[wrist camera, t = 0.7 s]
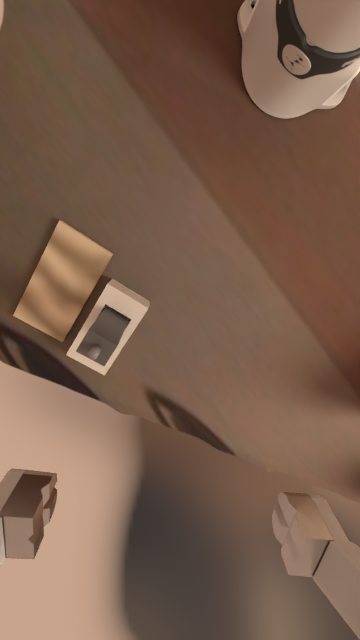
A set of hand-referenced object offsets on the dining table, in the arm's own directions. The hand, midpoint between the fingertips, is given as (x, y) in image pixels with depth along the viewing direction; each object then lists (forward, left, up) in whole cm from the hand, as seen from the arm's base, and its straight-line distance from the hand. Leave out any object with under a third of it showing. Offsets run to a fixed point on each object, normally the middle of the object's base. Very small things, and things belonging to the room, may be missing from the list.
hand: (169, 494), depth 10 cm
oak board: (+13, -16, -43) cm, 47 cm away
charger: (+13, -5, -41) cm, 43 cm away
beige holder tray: (+15, -5, -43) cm, 45 cm away
